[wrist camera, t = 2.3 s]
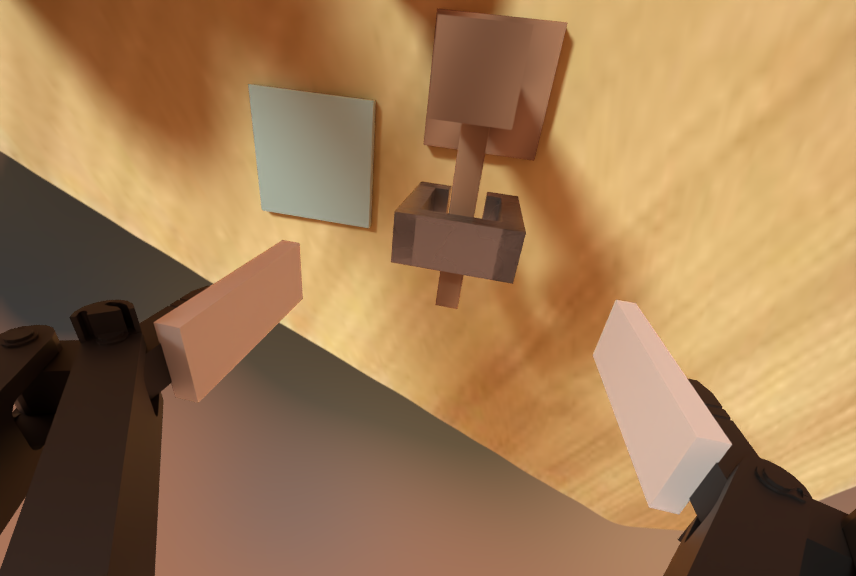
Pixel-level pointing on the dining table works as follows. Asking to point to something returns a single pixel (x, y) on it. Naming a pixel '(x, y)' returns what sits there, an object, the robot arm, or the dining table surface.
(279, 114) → the coaster
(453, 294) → the stand
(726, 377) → the dining table surface
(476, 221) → the c link
